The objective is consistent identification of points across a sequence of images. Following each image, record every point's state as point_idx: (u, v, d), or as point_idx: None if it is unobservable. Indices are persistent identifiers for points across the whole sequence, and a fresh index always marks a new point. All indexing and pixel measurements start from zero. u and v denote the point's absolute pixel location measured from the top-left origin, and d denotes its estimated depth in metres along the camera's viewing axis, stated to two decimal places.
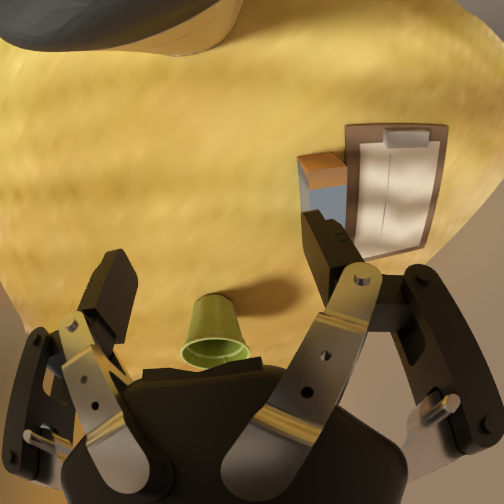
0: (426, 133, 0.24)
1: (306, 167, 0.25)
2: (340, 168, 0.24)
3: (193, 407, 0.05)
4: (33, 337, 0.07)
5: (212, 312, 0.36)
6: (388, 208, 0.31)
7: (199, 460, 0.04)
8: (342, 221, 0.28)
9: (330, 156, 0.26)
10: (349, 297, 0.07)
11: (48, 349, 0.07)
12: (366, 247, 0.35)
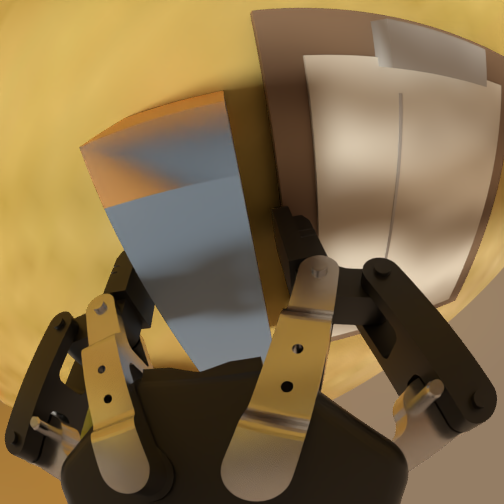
0: (480, 52, 0.06)
1: (96, 136, 0.06)
2: (194, 114, 0.06)
3: (193, 407, 0.05)
4: (57, 321, 0.07)
5: None
6: (398, 237, 0.13)
7: (199, 461, 0.04)
8: (252, 293, 0.10)
9: (203, 96, 0.08)
10: (302, 288, 0.07)
11: (73, 333, 0.07)
12: None
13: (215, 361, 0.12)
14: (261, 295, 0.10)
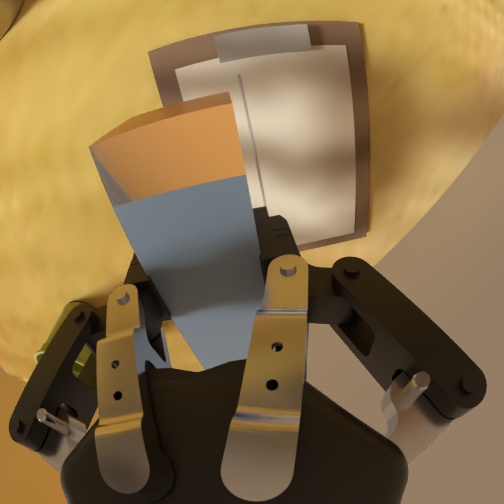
0: (301, 27, 0.12)
1: (105, 136, 0.07)
2: (203, 115, 0.06)
3: (193, 407, 0.05)
4: (76, 313, 0.08)
5: None
6: (265, 169, 0.20)
7: (199, 461, 0.04)
8: (257, 289, 0.10)
9: (210, 98, 0.08)
10: (270, 286, 0.08)
11: (94, 325, 0.08)
12: None
13: (220, 358, 0.13)
14: None
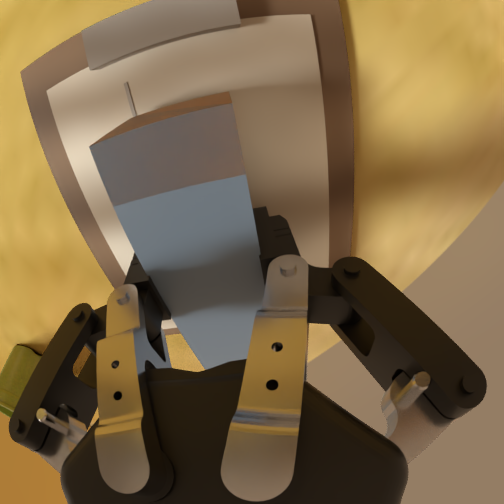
0: None
1: (105, 136, 0.07)
2: (203, 115, 0.06)
3: (193, 407, 0.05)
4: (76, 313, 0.08)
5: (9, 369, 0.17)
6: None
7: (199, 460, 0.04)
8: (257, 289, 0.10)
9: (210, 97, 0.08)
10: (270, 286, 0.08)
11: (94, 325, 0.08)
12: None
13: (220, 357, 0.13)
14: None
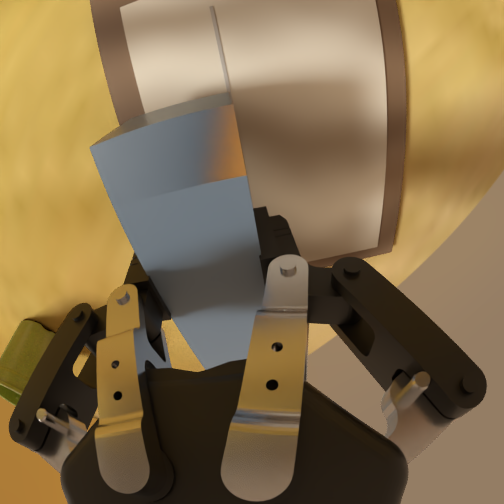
0: None
1: (105, 136, 0.07)
2: (204, 116, 0.06)
3: (193, 407, 0.05)
4: (76, 313, 0.08)
5: (14, 345, 0.17)
6: (253, 149, 0.13)
7: (199, 460, 0.04)
8: (258, 290, 0.10)
9: (210, 98, 0.08)
10: (270, 286, 0.08)
11: (94, 325, 0.08)
12: None
13: (220, 358, 0.13)
14: None
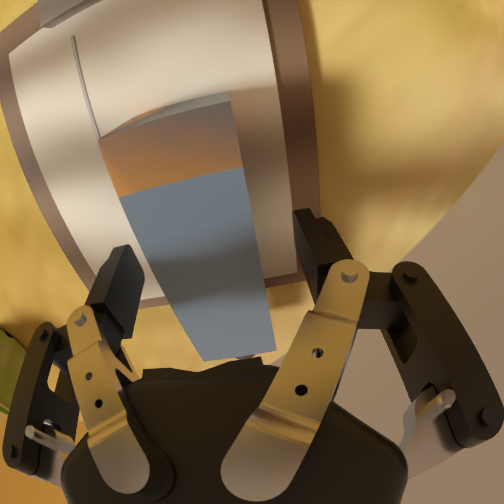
0: None
1: (111, 131, 0.07)
2: (203, 112, 0.06)
3: (193, 407, 0.05)
4: (40, 332, 0.07)
5: None
6: None
7: (199, 460, 0.04)
8: (254, 279, 0.10)
9: (210, 97, 0.09)
10: (335, 293, 0.07)
11: (55, 344, 0.07)
12: None
13: (218, 349, 0.13)
14: (262, 281, 0.10)
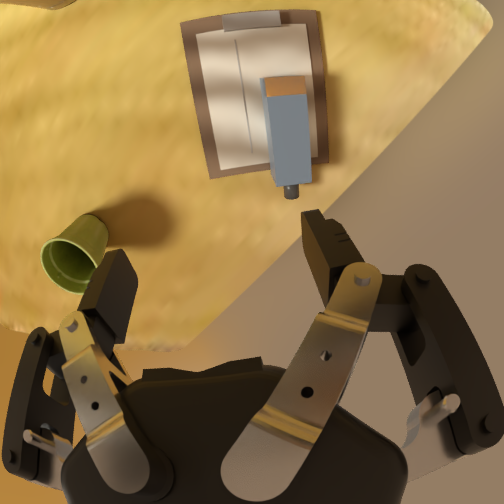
0: (275, 12, 0.20)
1: (264, 78, 0.23)
2: (297, 77, 0.22)
3: (193, 407, 0.05)
4: (33, 337, 0.07)
5: (75, 225, 0.30)
6: (249, 100, 0.27)
7: (199, 460, 0.04)
8: (306, 134, 0.26)
9: None
10: (349, 297, 0.07)
11: (48, 349, 0.07)
12: (234, 152, 0.30)
13: (285, 176, 0.29)
14: (309, 136, 0.26)
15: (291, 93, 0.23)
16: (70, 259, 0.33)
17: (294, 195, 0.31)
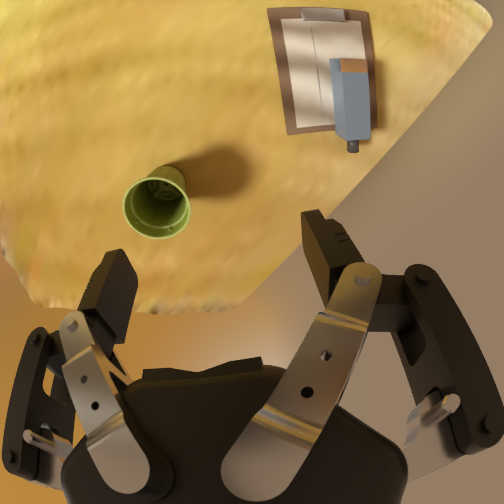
0: (340, 10, 0.24)
1: (338, 58, 0.27)
2: (361, 60, 0.26)
3: (193, 407, 0.05)
4: (33, 337, 0.07)
5: (159, 171, 0.35)
6: (321, 74, 0.31)
7: (199, 461, 0.04)
8: (367, 102, 0.30)
9: None
10: (349, 297, 0.07)
11: (48, 349, 0.07)
12: (308, 113, 0.35)
13: (352, 133, 0.33)
14: (369, 104, 0.30)
15: (358, 71, 0.28)
16: (146, 208, 0.38)
17: (356, 149, 0.36)
